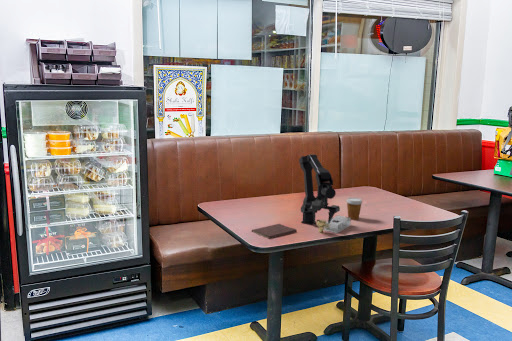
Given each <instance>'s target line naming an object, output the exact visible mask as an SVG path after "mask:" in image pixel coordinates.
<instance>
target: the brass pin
mask: <svg viewBox="0 0 512 341" xmlns="http://www.w3.org/2000/svg"><path fill="white" fill-rule="evenodd" d="M326 222H327V220H325V219H321V218H320V219H317V220H316V226H317V227H318V233H320V234H323V233H324V226H326Z"/></svg>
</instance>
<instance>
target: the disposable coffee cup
mask: <svg viewBox="0 0 512 341" xmlns="http://www.w3.org/2000/svg"><path fill="white" fill-rule="evenodd" d="M345 202H346V207H347V217H349V218H351V220H353V221H358V220H359V219H360V214H361V209H362V203H363V200H362V199H361V198H359V197H348V198H347V199H346V201H345Z"/></svg>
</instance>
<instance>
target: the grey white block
mask: <svg viewBox="0 0 512 341" xmlns="http://www.w3.org/2000/svg"><path fill="white" fill-rule="evenodd" d="M351 223H352V221H351V218H349V217H348V216H344V215H336V216H333V217H332V219H331V222H330V223H329V224H328V220H326V226H324V228H323V231H326V232H332V233H335V234H338V233H340V232H342V231H343V230H345V229H346V228H348V227H350V226H351Z"/></svg>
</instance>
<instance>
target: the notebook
mask: <svg viewBox="0 0 512 341" xmlns="http://www.w3.org/2000/svg"><path fill="white" fill-rule="evenodd" d="M251 232H252V233H254V234H257V235H259V236H261V237H264V238H267V239H273V238H278V237H282V236H286V235H287V236H288V235H290V234H294V233H297V229H296V228H293V227H290V226H286V225H284V224H281V223H277V224H272V225H267V226H263V227H259V228H255V229H251Z"/></svg>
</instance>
